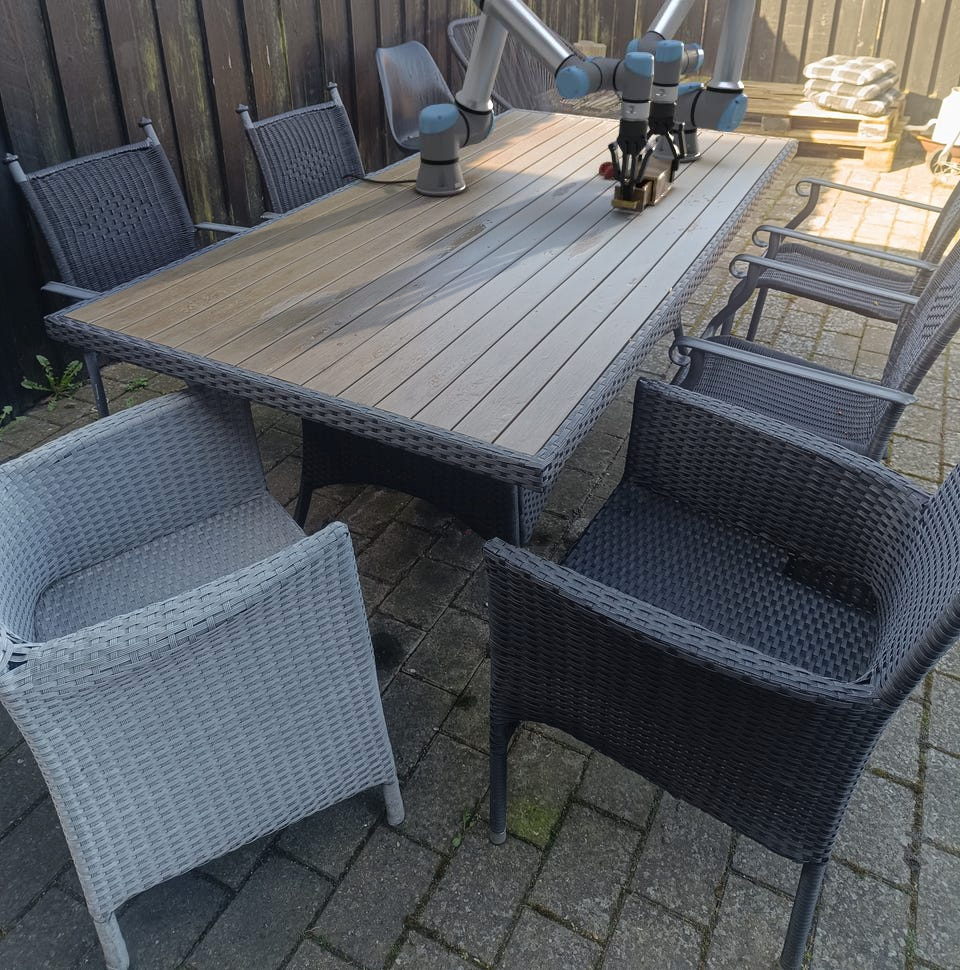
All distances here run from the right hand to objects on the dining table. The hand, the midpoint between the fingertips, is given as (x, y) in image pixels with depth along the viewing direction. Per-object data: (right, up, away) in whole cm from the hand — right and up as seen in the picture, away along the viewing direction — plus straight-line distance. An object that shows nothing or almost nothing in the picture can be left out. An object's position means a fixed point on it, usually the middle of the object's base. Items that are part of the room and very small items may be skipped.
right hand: (654, 179), depth 257 cm
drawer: (-8, -12, -13) cm, 19 cm away
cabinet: (-2, -5, -2) cm, 6 cm away
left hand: (-12, -15, -20) cm, 28 cm away
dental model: (-12, +6, +14) cm, 19 cm away
